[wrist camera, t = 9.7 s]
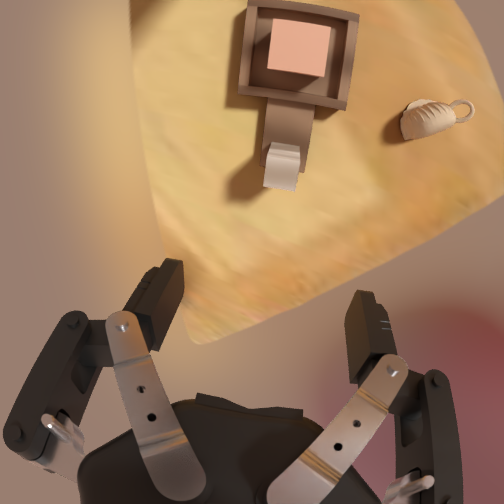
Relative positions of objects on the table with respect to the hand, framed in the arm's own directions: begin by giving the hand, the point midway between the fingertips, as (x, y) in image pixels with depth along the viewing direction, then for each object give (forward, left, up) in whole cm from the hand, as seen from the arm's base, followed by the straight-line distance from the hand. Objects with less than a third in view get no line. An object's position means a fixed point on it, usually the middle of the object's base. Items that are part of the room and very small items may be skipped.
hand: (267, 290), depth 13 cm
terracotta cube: (-12, 0, -22) cm, 25 cm away
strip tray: (-8, 0, -23) cm, 24 cm away
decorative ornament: (-8, +16, -23) cm, 29 cm away
